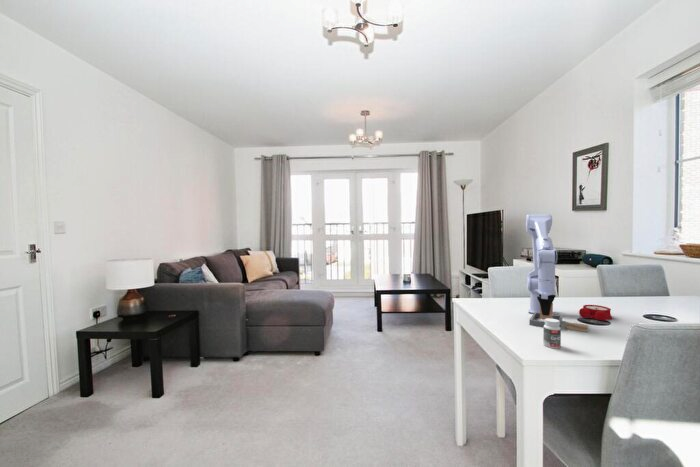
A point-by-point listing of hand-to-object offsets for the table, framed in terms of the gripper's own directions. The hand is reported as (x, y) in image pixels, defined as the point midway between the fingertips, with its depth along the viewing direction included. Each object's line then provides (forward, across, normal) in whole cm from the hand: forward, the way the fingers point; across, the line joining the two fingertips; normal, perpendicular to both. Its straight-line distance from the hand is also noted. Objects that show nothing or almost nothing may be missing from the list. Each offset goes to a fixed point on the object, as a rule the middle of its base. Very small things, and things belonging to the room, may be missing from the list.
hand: (546, 313), depth 128 cm
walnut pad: (+4, 0, +10) cm, 11 cm away
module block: (+2, 0, 0) cm, 2 cm away
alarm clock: (+4, -21, +16) cm, 27 cm away
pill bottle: (+4, +27, +4) cm, 28 cm away
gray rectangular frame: (+4, 0, 0) cm, 4 cm away
